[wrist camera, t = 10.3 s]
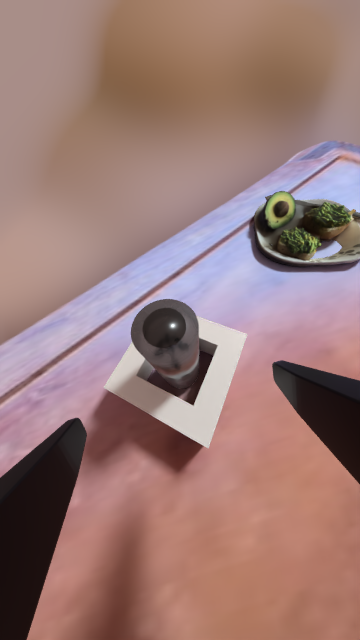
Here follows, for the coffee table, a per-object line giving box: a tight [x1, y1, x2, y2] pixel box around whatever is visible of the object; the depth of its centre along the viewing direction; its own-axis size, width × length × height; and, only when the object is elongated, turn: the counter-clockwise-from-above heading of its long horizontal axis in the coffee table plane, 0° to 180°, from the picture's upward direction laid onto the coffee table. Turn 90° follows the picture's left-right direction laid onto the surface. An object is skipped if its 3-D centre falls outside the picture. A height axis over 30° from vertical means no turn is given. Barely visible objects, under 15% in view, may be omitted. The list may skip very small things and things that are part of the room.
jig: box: [104, 316, 247, 448], centre depth 20 cm, size 11×11×4 cm
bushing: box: [131, 299, 199, 389], centre depth 17 cm, size 4×4×12 cm
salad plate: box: [254, 191, 360, 267], centre depth 29 cm, size 19×18×5 cm
